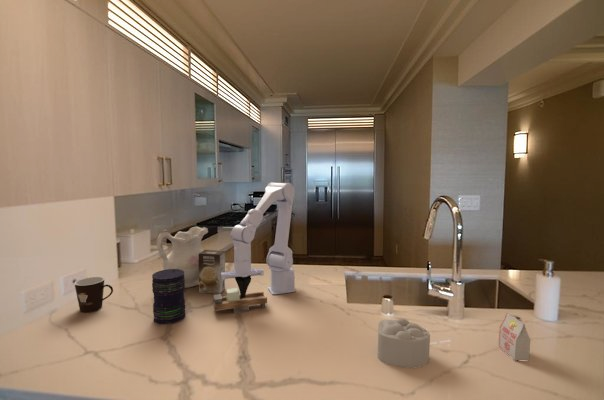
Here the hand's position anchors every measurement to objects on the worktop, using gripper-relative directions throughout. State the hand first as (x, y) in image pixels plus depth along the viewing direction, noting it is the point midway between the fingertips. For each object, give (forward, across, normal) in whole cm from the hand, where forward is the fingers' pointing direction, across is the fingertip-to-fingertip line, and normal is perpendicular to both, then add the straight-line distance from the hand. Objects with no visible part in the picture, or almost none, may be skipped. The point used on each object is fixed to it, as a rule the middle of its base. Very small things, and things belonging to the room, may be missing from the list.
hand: (242, 296), depth 110 cm
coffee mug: (+4, -49, +16) cm, 52 cm away
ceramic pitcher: (+4, -19, +32) cm, 38 cm away
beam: (+4, -1, 0) cm, 4 cm away
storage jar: (+4, -24, +1) cm, 24 cm away
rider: (+1, -3, 0) cm, 4 cm away
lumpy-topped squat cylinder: (+4, +35, -43) cm, 55 cm away
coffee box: (+4, -9, +21) cm, 23 cm away
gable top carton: (+4, +64, -52) cm, 83 cm away
